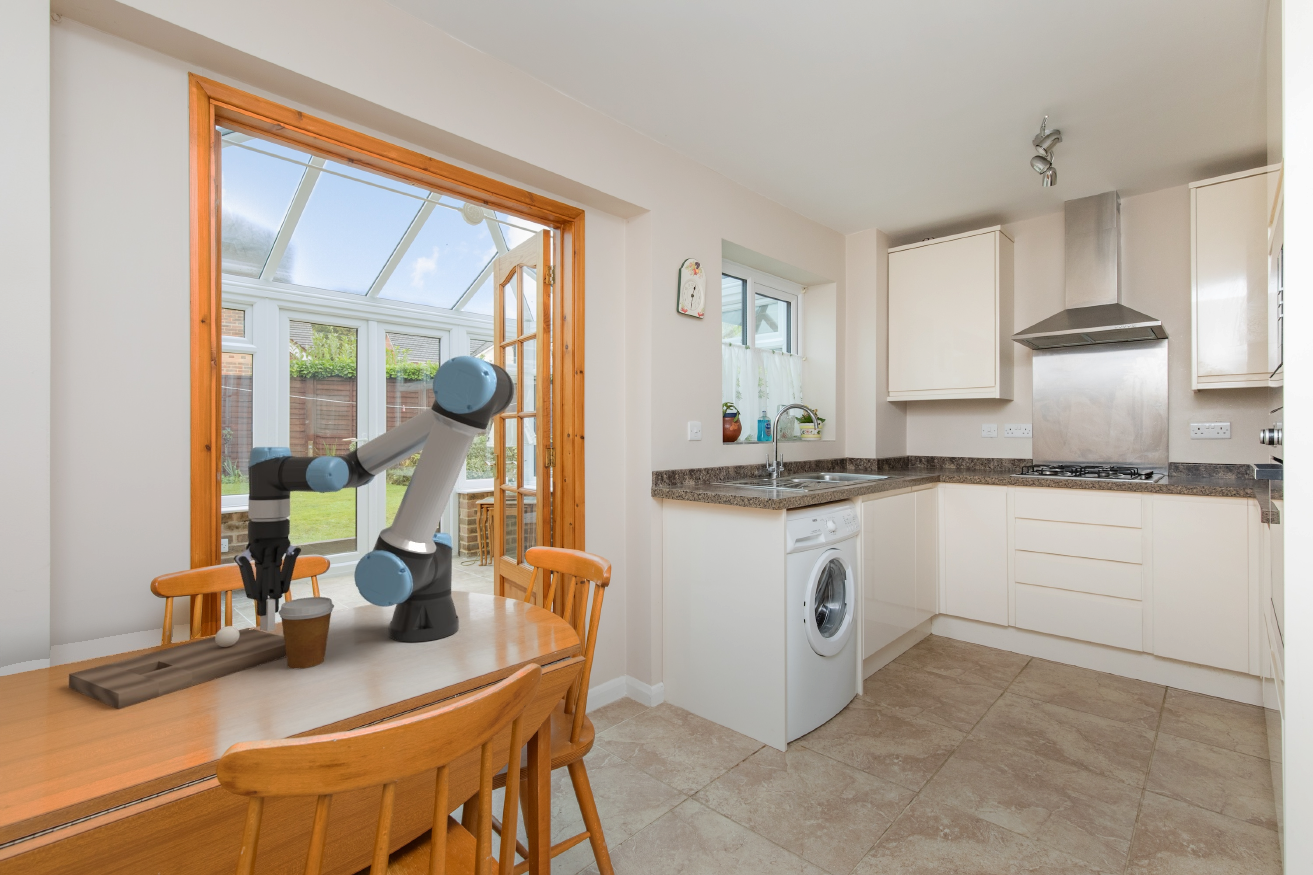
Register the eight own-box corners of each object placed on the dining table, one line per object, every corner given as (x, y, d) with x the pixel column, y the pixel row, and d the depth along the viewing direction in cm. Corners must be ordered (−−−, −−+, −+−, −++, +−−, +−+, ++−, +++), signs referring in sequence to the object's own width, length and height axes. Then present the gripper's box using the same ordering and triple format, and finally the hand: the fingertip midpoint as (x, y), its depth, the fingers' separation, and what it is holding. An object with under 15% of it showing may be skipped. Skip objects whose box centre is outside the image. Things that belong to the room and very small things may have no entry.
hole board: (298, 652, 125) (299, 640, 125) (118, 708, 98) (118, 693, 98) (248, 639, 133) (248, 627, 133) (68, 687, 106) (69, 673, 106)
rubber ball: (243, 645, 122) (244, 625, 122) (222, 651, 118) (222, 630, 118) (232, 641, 123) (232, 622, 123) (210, 647, 120) (211, 627, 120)
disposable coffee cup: (308, 673, 113) (309, 610, 113) (265, 669, 115) (266, 607, 115) (344, 656, 123) (344, 597, 123) (304, 652, 124) (304, 595, 125)
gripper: (288, 514, 135) (287, 619, 135) (226, 521, 124) (224, 635, 124) (309, 516, 132) (308, 623, 132) (247, 523, 120) (245, 641, 120)
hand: (267, 629), depth 128 cm, fingers closed
